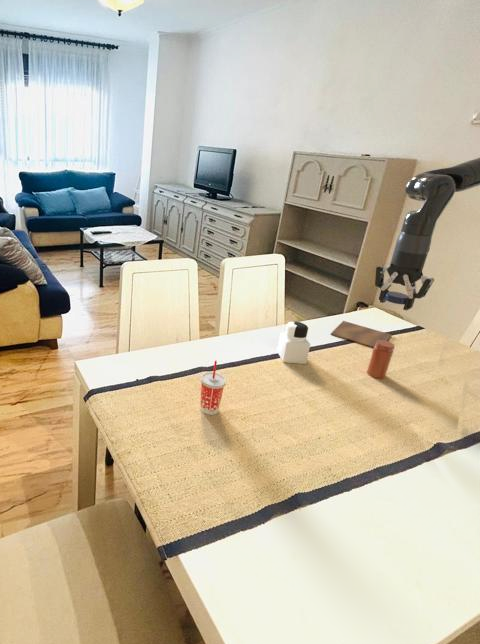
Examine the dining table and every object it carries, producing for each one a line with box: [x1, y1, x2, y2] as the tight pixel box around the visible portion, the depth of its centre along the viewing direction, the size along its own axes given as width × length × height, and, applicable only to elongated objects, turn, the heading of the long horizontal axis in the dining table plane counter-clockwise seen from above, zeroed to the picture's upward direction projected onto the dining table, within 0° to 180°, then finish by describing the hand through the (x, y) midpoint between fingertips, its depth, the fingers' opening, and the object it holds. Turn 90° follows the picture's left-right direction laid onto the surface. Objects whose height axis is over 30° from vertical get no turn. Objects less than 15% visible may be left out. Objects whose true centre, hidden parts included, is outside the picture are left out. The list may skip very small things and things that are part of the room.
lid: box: [384, 290, 408, 305], centre depth 111 cm, size 6×6×2 cm
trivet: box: [330, 320, 391, 349], centre depth 141 cm, size 16×16×1 cm
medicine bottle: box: [276, 321, 311, 365], centre depth 122 cm, size 7×7×12 cm
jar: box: [366, 340, 395, 380], centre depth 114 cm, size 5×5×11 cm
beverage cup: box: [199, 360, 227, 416], centre depth 95 cm, size 6×6×14 cm
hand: (394, 305), depth 112 cm, fingers closed on lid, 5 cm apart
